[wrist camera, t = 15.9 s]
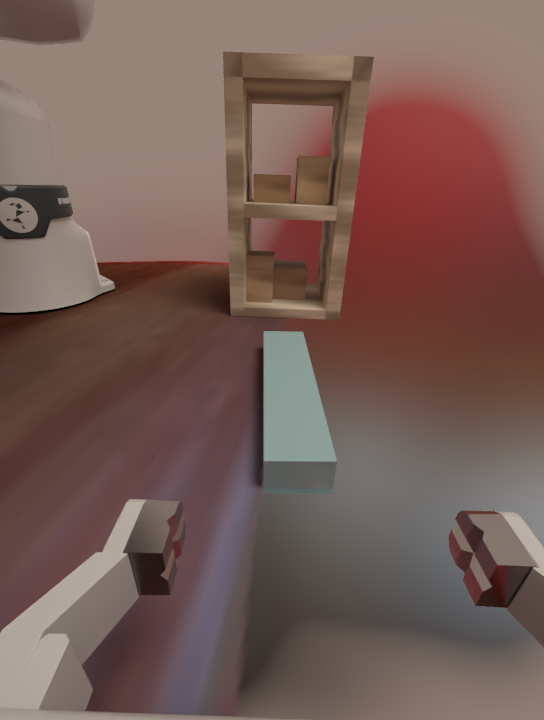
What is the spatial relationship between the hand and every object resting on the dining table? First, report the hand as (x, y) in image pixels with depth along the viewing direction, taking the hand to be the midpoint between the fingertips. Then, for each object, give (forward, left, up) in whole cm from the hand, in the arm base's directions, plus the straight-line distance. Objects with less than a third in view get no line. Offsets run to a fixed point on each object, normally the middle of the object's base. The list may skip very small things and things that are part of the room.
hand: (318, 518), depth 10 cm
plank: (-13, +9, -7) cm, 18 cm away
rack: (-34, +22, -7) cm, 41 cm away
